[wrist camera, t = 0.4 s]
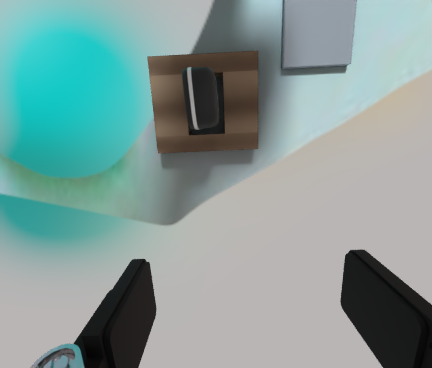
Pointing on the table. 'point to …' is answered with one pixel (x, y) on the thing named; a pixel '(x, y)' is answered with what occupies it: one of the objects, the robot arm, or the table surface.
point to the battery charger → (200, 97)
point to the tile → (317, 33)
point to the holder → (232, 96)
